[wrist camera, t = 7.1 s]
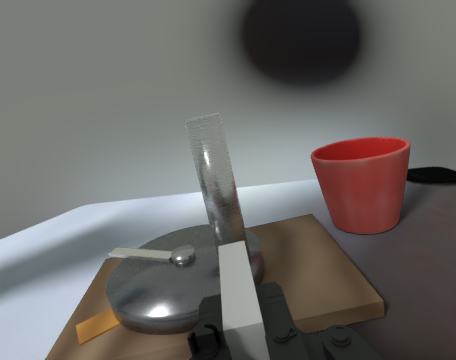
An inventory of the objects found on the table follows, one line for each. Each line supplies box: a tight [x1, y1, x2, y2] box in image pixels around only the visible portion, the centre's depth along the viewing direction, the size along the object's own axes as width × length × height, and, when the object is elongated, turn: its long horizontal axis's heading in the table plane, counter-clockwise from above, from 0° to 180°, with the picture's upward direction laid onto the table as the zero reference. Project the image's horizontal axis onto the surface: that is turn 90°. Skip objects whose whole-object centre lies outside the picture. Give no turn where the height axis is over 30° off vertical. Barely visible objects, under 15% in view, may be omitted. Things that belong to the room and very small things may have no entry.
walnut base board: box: [45, 214, 385, 360], centre depth 34 cm, size 28×18×2 cm, turn 93°
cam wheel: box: [106, 113, 265, 335], centre depth 32 cm, size 18×16×16 cm
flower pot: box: [311, 137, 410, 234], centre depth 39 cm, size 11×11×10 cm
